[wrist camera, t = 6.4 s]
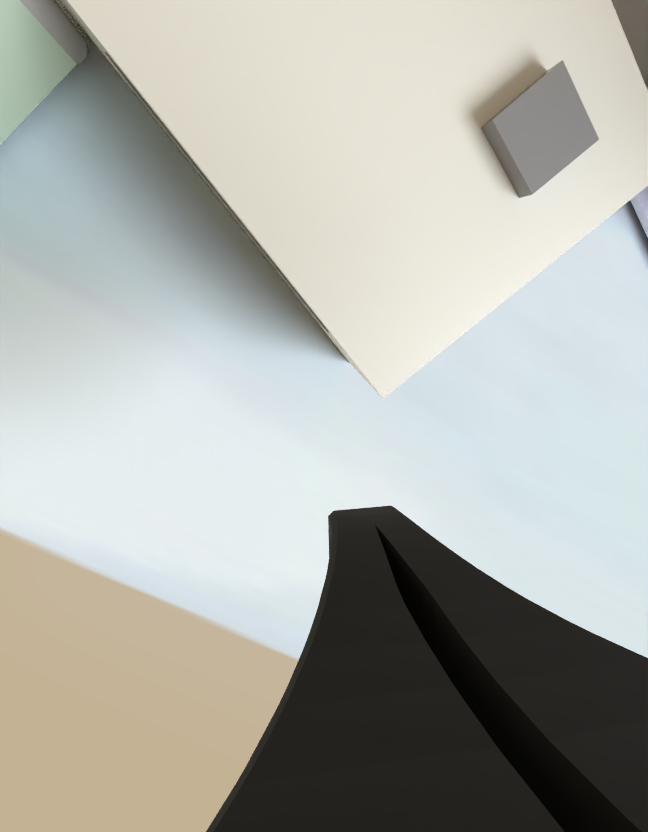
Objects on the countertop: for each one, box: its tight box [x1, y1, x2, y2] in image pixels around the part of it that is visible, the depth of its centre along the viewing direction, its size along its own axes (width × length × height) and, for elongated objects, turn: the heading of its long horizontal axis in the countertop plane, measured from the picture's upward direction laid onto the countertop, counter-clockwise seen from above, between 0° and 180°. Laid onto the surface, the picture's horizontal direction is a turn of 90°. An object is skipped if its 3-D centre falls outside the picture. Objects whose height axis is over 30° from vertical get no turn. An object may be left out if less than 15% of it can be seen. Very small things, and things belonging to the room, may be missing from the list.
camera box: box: [60, 0, 648, 398], centre depth 12 cm, size 10×16×6 cm, turn 39°
